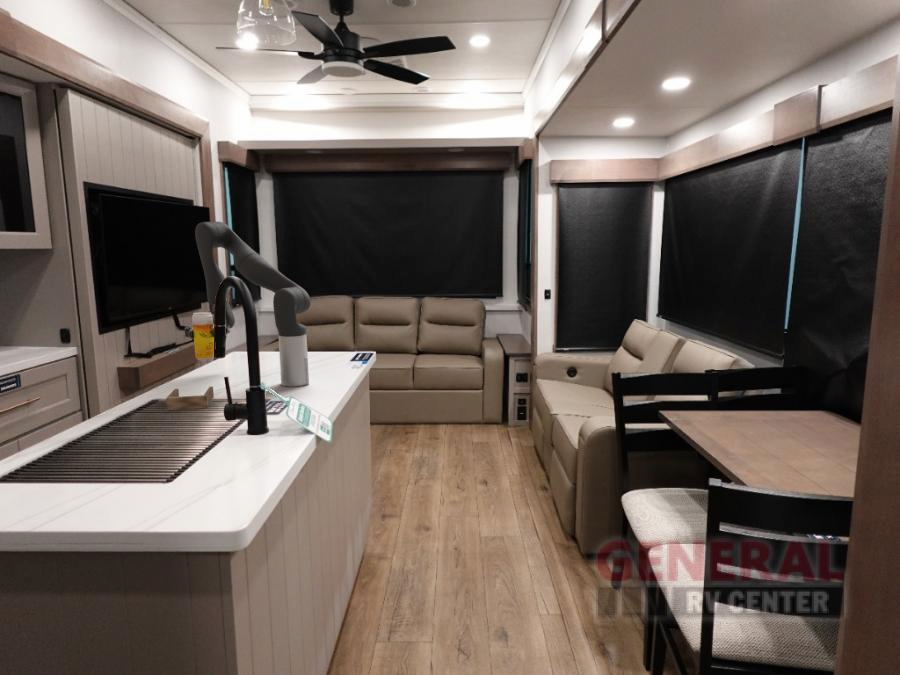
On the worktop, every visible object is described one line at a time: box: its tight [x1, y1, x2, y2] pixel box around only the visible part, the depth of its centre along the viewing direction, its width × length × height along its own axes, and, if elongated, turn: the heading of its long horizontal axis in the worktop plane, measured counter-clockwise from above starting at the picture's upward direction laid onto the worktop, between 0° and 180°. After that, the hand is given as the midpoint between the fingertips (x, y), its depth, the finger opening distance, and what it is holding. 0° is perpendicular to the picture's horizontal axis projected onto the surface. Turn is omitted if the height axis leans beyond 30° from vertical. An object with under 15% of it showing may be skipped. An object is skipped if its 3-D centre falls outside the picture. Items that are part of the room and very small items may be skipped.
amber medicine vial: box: [191, 311, 215, 362], centre depth 176 cm, size 6×6×15 cm
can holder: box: [165, 386, 215, 411], centre depth 166 cm, size 11×11×4 cm
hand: (202, 334), depth 174 cm, fingers closed on amber medicine vial, 6 cm apart
